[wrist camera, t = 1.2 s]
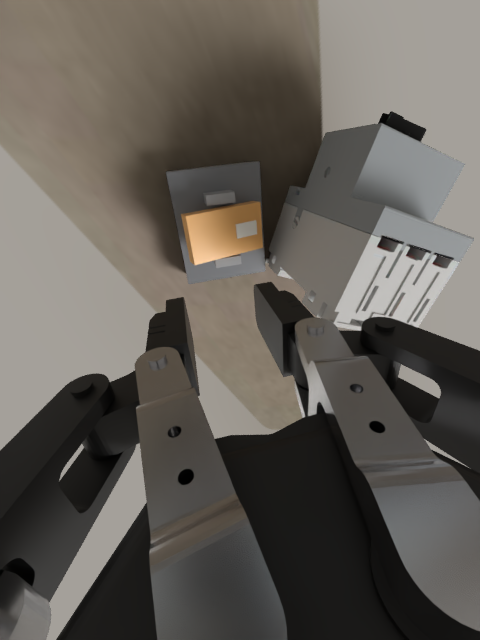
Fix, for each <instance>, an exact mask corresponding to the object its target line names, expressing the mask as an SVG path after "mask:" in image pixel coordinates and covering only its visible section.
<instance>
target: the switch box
mask: <svg viewBox="0 0 480 640" xmlns="http://www.w3.org/2000/svg"><path fill="white" fill-rule="evenodd" d="M166 175H167V180H168V185H169V190H170V195H171V200H172V205H173V210H174V215H175V220H176V224H177V229H178V234H179V239H180V244H181V249H182V254H183V259H184V264H185V269H186V274H187V278H188V283H189V284H193V283H199V282H205V281H210V280H216V279H222V278H228V277H234V276H240V275H246V274H251V273H257V272H263V271H265V254H264V235H263V216H262V198H261V179H260V161H250V162H241V163H232V164H224V165H215V166H207V167H198V168H189V169H181V170H172V171H166ZM250 201H258V202H260V203H261V221H262V239H263V248H260V249H256V250H252V251H248V252H244V253H240V254H237V255H233V256H229V257H225V258H221V259H217V260H213V261H210V262H206V263H202V264H198V265H194V264H192V263H191V262H190V258H189V253H188V248H187V243H186V238H185V232H184V227H183V222H182V217H181V214H185V213H190V212H196V211H201V210H207V209H212V208H217V207H223V206H228V205H234V204H239V203H244V202H250Z"/></svg>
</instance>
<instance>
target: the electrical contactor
mask: <svg viewBox="0 0 480 640" xmlns="http://www.w3.org/2000/svg"><path fill="white" fill-rule="evenodd" d="M425 132H426V129H425V128H423V127H420V126H418V125H416V124H413V123H411V122H409V121H407V120H405V119H403V117H402V116H400V115H398V114H396V113H394V112H390V114H385V113H383V114H382V116H381V118H380V121H379V123H378V124H372V125H367V126H361V127H356V128H350V129H345V130H339V131H333V132H327V133H326V134H325V136H324V138H323V141H322V144H321V147H320V149H319V152H318V155H317V158H316V160H315V163H314V166H313V168H312V171H311V174H310V177H309V179H308V182H307V185H306V188H302V187H296V186H290V188H289V191H288V194H287V197H286V200H285V202H286V203H284V206H283V209H282V212H281V215H280V217H279V220H278V223H277V226H276V229H275V232H274V235H273V238H272V241H271V244H270V247H269V251H270V252H271V254H270V257H269V259H268V258H266V259H265V263H269V267H270V268H271V269H272V270H273V271H274V272H275V273H276V275H277V276H282V277H286V278H290V279H294V280H295V281H296V282H297V283H298V284H299V285H300V286H301V287H302V288H303V289H304V290H305V291H306V293H305V296H304V298H303V301H302V303H303V304H304V305H305V306H306V307H307V308H308V309H309V310H310V311H311V312H312V314H314V315H315V316H316V317H320V318H323V319H326V320H329V321H331V322H333V323H334V324H335V325H336V327H342V328H347V329H353V330H358V331H361V327H362V323H363V321H365V320H366V319H368V318H372V317H388V318H393V319H396V320H399V321H401V322H404V323H407V324H409V325H412V326H415V327H417V328H418V326H419V325H420V323H421V322H422V320H423V319H424V317H425V316H426V314H427V312H428V311H429V309H430V308H431V306H432V305H433V303H434V302H435V300H436V299H437V297H438V295H439V294H440V292H441V291H442V289H443V288H444V286H445V285H446V283H447V281H448V280H449V278H450V277H451V275H452V274H453V272H454V270H455V269H456V267H457V266H458V264H459V263H458V262H460V261H461V260H462V258H463V257H464V255H465V253H466V252H467V250H468V248H469V247H470V246H471V244H472V242H473V241H474V238H472V237H470V236H466V235H464V234H461V233H459V232H456V231H453V230H451V229H448V228H445V227H442V226H440V225H437V224H434V223H433V221H434V219H435V217H436V216H437V214H438V212H439V210H440V208H441V207H442V205H443V203H444V201H445V199H446V197H447V196H448V194H449V192H450V190H451V189H452V187H453V185H454V183H455V181H456V180H457V178H458V176H459V174H460V173H461V171H462V169H463V167H464V165H465V164H464V163H462V162H460V161H458V160H456V159H454V158H452V157H450V156H448V155H446V154H444V153H441V152H440V151H438V150H436V149H434V148H432V147H430V146H428V145H425V144H423V143H421V140H422V138H423V135H424V134H425ZM288 203H289V204H288ZM296 206H297V207H296ZM385 236H386V237H385ZM388 237H389V238H388ZM391 238H392V239H391ZM394 239H395V240H394ZM396 240H397V241H396ZM399 241H400V242H399ZM410 245H411V246H410ZM413 246H414V247H413ZM416 247H417V248H416ZM419 248H420V249H419ZM422 249H423V250H422ZM436 254H437V255H436ZM439 255H440V256H439ZM441 256H443V257H441ZM444 257H445V258H444ZM447 258H448V259H447ZM450 259H451V260H450ZM453 260H454V261H453ZM455 261H457V262H455Z"/></svg>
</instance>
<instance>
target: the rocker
mask: <svg viewBox="0 0 480 640" xmlns="http://www.w3.org/2000/svg"><path fill="white" fill-rule="evenodd" d="M181 217H182V222H183V227H184V232H185V238H186V243H187V248H188V253H189V258H190V262H191V263H192V264H194V265H198V264H202V263H206V262H210V261H213V260H217V259H221V258H225V257H229V256H233V255H237V254H240V253H244V252H248V251H252V250H256V249H260V248H263V239H262V221H261V203H260V202H258V201H250V202H244V203H239V204H234V205H228V206H223V207H217V208H212V209H207V210H201V211H196V212H190V213H185V214H181Z"/></svg>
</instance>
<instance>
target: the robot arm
mask: <svg viewBox="0 0 480 640" xmlns="http://www.w3.org/2000/svg"><path fill="white" fill-rule="evenodd" d="M254 300H255V312H256V321H257V325H258V328H259V331H260V333H261V335H262V337H263V338H264V340H265V342H266V344H267V346H268V348H269V350H270V352H271V354H272V356H273V358H274V360H275V362H276V363H277V365H278V367H279V369H280V371H281V373H282V375H283V377H286V376H290V375H293V376H294V378H295V392H296V396H297V399H298V403H299V406H300V410H301V414H302V417H303V418H302V419H300V420H298V421H296V422H294V423H292V424H291V425H289V426H287V427H285V428H283V429H281V430H279V431H277V432H275V433H273V434H269V435H230V436H226V437H222V438H218V439H214V436H213V434H212V431H211V429H210V426H209V424H208V421H207V419H206V416H205V413H204V411H203V408H202V406H201V403H200V401H199V398H198V396H199V395H200V393H199V385H198V377H197V369H196V361H195V353H194V344H193V338H192V332H191V328H190V323H189V318H188V314H187V309H186V305H185V300H184V297H181V298H176V299H170V300H166V312H162V313H157V314H155V315H154V316H153V317H152V319H151V320H150V322H149V330H148V338H147V346H146V352H145V353H144V354H143V355H141V356H140V357H139V358H138V359H137V361H136V363H135V371H133V372H132V373H130V374H128V375H126V376H124V377H122V378H119V379H117V380H115V381H112V382H109V380H108V378H107V377H106V376H105V375H102V374H89V375H85V376H82V377H79V378H77V379H75V380H74V381H72V382H70V383H69V384H67V385H66V386H65V387H64V388H63V389H62V390H61V391H60V392H59V393H58V394H57V395H56V396H55V397H54V398H53V399H52V400H51V401H50V402H49V403H48V404H47V405H46V406H45V407H44V408H43V409H42V410H41V411H40V412H39V413H38V414H37V415H36V416H35V417H34V418H33V419H32V420H31V421H30V422H29V423H28V424H27V425H26V426H25V427H24V428H23V429H22V430H21V431H20V432H19V433H18V434H17V435H16V436H15V437H14V438H13V439H12V440H11V441H10V442H9V443H8V444H7V445H6V446H5V447H4V448H3V449H2V450H1V451H0V640H46V638H47V635H48V632H49V627H50V622H51V608H50V606H49V602H50V600H51V599H52V597H53V595H54V593H55V591H56V590H57V588H58V586H59V584H60V583H61V581H62V579H63V577H64V575H65V574H66V572H67V570H68V568H69V567H70V565H71V563H72V561H73V559H74V558H75V556H76V554H77V552H78V551H79V549H80V547H81V545H82V543H83V542H84V540H85V538H86V536H87V534H88V532H89V531H90V529H91V527H92V526H93V524H94V522H95V520H96V518H97V517H98V515H99V513H100V511H101V509H102V508H103V506H104V504H105V502H106V501H107V499H108V497H109V495H110V494H111V492H112V489H113V488H114V486H115V484H116V483H117V481H118V479H119V478H120V476H121V474H122V472H123V470H124V469H125V467H126V465H127V463H128V461H129V460H130V458H131V456H132V454H133V452H134V450H135V447H136V444H138V443H140V448H141V457H142V465H143V474H144V482H145V490H146V500H147V503H146V504H145V506H144V508H143V509H142V510H141V512H140V513H139V515H138V517H137V518H136V520H135V521H134V523H133V524H132V526H131V527H130V529H129V530H128V532H127V533H126V535H125V536H124V538H123V539H122V541H121V542H120V544H119V545H118V547H117V548H116V550H115V551H114V553H113V554H112V556H111V558H110V559H109V560H108V562H107V564H106V565H105V566H104V568H103V570H102V571H101V573H100V574H99V576H98V577H97V579H96V580H95V582H94V583H93V585H92V586H91V588H90V589H89V591H88V592H87V594H86V595H85V597H84V598H83V600H82V602H81V603H80V604H79V606H78V607H77V609H76V610H75V612H74V614H73V615H72V616H71V618H70V620H69V621H68V623H67V624H66V626H65V627H64V629H63V630H62V632H61V633H60V635H59V636H58V638H57V639H56V640H480V351H478V350H476V349H473V348H471V347H468V346H465V345H463V344H460V343H457V342H454V341H452V340H449V339H447V338H444V337H441V336H439V335H436V334H433V333H431V332H428V331H425V330H422V329H420V328H417V327H415V326H412V325H409V324H407V323H404V322H401V321H399V320H396V319H393V318H388V317H372V318H368V319H366V320H365V321H363V323H362V327H361V331H340V330H338V329H337V327H336V325H335V324H334V323H333V322H331V321H329V320H326V319H323V318H315V317H314V316H313V315H312V314H311V313H310V312H309V311H308V310H307V309H306V308H305V306H303V304H302V303H301V302H300V301H299V300H298V299H297V298H296V297H295V296H294V294H292V293H289V292H287V291H285V290H284V291H278V289H277V288H276V287H275V286H274V285H273V283H272V282H267V283H261V284H256V285H254ZM401 364H402V365H404V366H406V367H408V368H410V369H412V370H414V371H416V372H419V373H421V374H423V375H425V376H427V377H429V378H431V379H433V380H434V381H435V382H436V383H437V384H438V385H439V387H440V389H441V396H440V398H437V397H435V396H433V395H431V394H429V393H427V392H425V391H423V390H421V389H419V388H418V387H416V386H414V385H412V384H410V383H408V382H406V381H404V380H402V379H400V378H398V374H399V370H400V366H401ZM424 439H426V440H427V441H429V442H430V443H432V444H433V445H435V446H437V447H438V448H440V449H441V450H443V451H444V452H446V453H447V454H449V455H451V456H452V457H454V458H455V459H457V460H458V461H460V462H461V463H463V464H465V465H466V466H468V467H469V468H468V467H466V466H464V465H462V464H460V463H458V462H455V461H454V460H451V459H449V458H447V457H445V456H443V455H441V454H439V453H437V452H435V451H433V450H431V449H430V447H429V446H428V444H427V443H426V441H425V440H424ZM81 444H83V446H84V449H83V450H82V451H81V453H80V454H79V456H78V457H77V458H76V460H75V461H74V463H73V464H72V465H71V466H70V468H69V469H68V471H67V472H66V474H65V475H64V476H63V477H62V479H61V480H60V481H59V479H60V475H61V472H62V470H63V468H64V467H65V465H66V464H67V462H68V461H69V460H70V458H71V457H72V456H73V454H74V453H75V452H76V450H77V449H78V448H79V446H80V445H81ZM470 468H471V469H470Z"/></svg>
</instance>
